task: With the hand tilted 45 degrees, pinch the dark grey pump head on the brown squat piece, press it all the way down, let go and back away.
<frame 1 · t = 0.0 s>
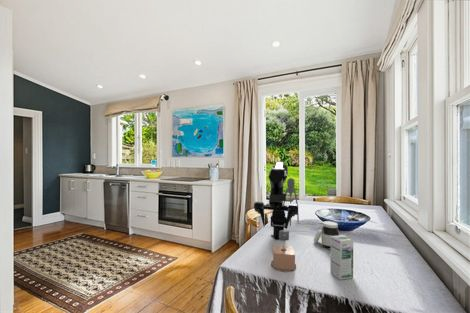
hand: (274, 227, 96), 15 cm above the table, tool tilted 35°, fingers open, 9 cm apart
pump head: (284, 242, 93), point 10 cm above the table, slide at 0.0 cm
citrus juicer: (292, 222, 156), on the table
spread jar: (325, 245, 116), on the table
brown squat piece: (283, 265, 94), on the table
syrup box: (341, 276, 87), on the table
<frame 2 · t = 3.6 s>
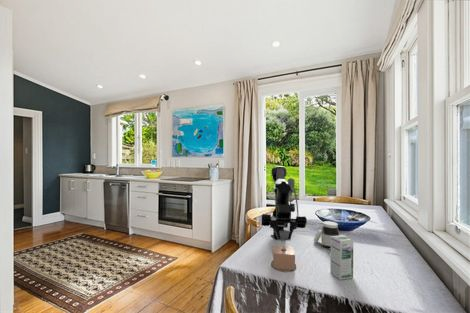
hand: (284, 239, 92), 11 cm above the table, tool tilted 45°, fingers closed on pump head, 4 cm apart
pump head: (284, 242, 93), point 10 cm above the table, slide at 0.0 cm, touching gripper
everything else where it was.
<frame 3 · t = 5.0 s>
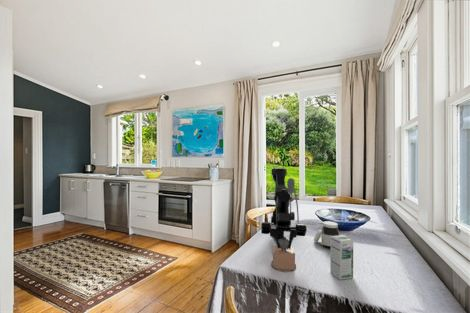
hand: (284, 248, 92), 8 cm above the table, tool tilted 45°, fingers closed on pump head, 4 cm apart
pump head: (284, 251, 93), point 6 cm above the table, slide at 3.6 cm, touching gripper
everything else where it was.
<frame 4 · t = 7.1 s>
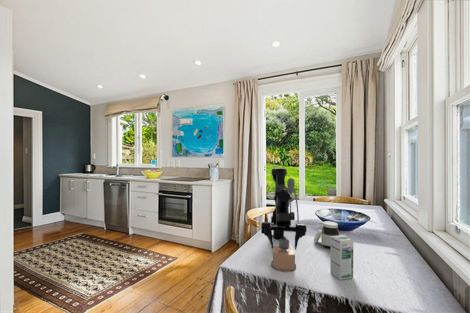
hand: (284, 248, 93), 7 cm above the table, tool tilted 45°, fingers open, 9 cm apart
pump head: (284, 251, 93), point 6 cm above the table, slide at 3.6 cm
everything else where it was.
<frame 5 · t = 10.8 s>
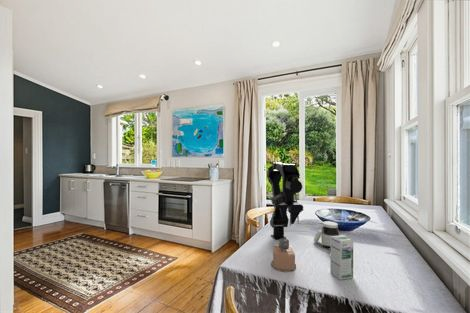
hand: (287, 221, 112), 13 cm above the table, tool pointing down, fingers open, 9 cm apart
nothing on the table moved.
at the end: pump head slide at 3.6 cm; the gripper is holding nothing; syrup box moved 0.2 cm from its start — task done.
